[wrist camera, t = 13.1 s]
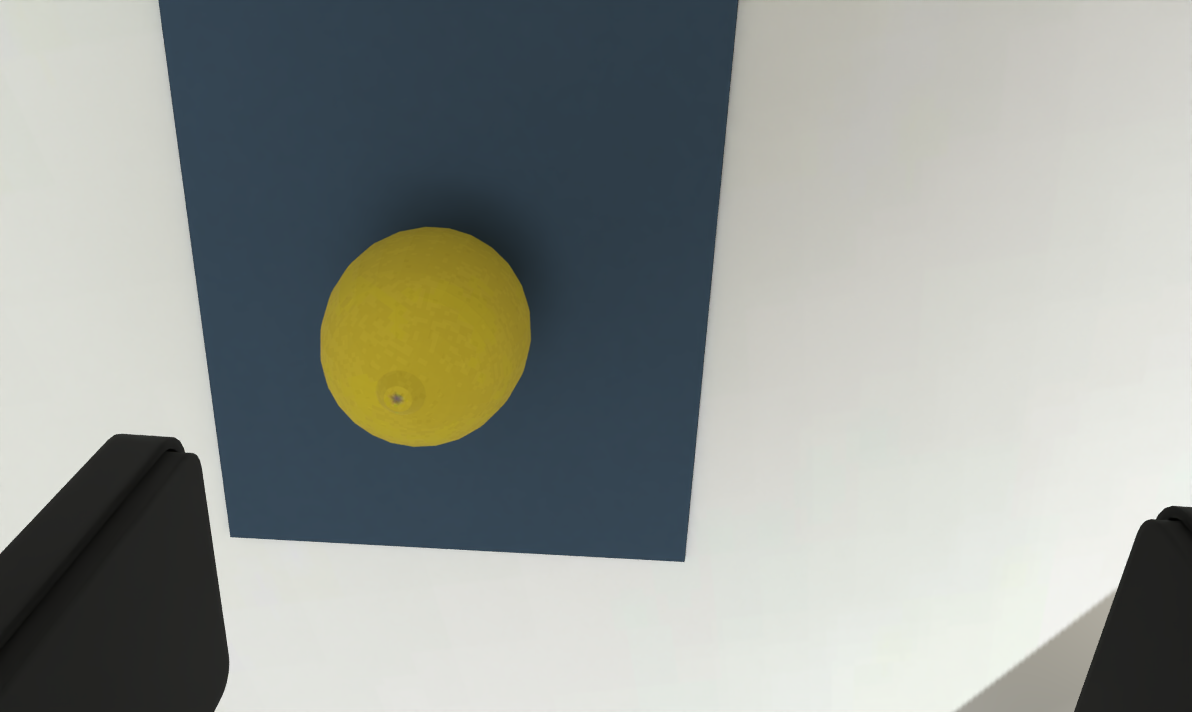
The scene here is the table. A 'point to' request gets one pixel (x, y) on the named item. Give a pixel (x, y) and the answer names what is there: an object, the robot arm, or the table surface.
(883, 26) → the table surface
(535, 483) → the mat
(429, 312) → the lemon
